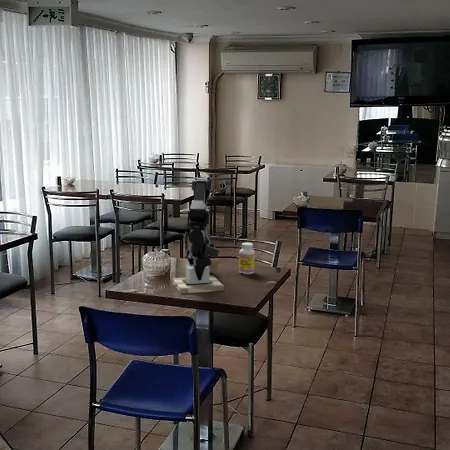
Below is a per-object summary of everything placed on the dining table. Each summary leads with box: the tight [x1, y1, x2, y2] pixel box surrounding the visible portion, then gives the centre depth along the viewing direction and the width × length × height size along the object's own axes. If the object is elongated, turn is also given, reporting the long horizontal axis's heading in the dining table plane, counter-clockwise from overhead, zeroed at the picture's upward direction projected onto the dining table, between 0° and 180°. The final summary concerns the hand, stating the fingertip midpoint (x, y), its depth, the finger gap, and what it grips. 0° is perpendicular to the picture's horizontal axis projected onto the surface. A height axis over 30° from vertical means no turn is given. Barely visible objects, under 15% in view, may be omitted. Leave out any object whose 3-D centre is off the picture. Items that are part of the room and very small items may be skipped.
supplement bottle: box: [238, 242, 256, 275], centre depth 261 cm, size 7×7×13 cm
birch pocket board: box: [171, 275, 225, 294], centre depth 239 cm, size 15×17×2 cm
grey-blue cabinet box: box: [185, 264, 211, 285], centre depth 238 cm, size 6×8×6 cm
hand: (197, 278), depth 239 cm, fingers closed on grey-blue cabinet box, 6 cm apart
